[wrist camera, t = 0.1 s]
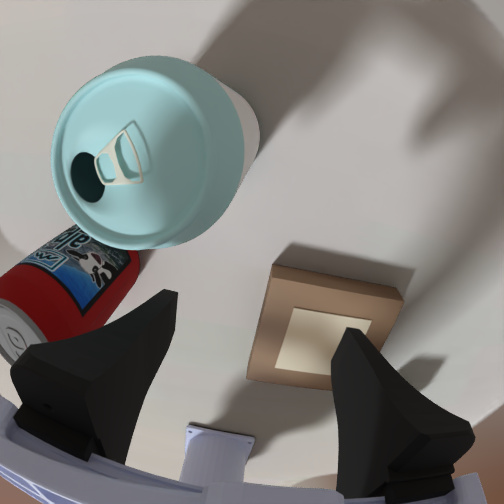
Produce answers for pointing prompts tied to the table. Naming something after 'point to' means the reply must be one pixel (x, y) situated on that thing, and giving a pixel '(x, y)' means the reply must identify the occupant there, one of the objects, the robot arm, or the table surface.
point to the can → (152, 153)
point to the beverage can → (62, 291)
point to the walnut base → (315, 324)
